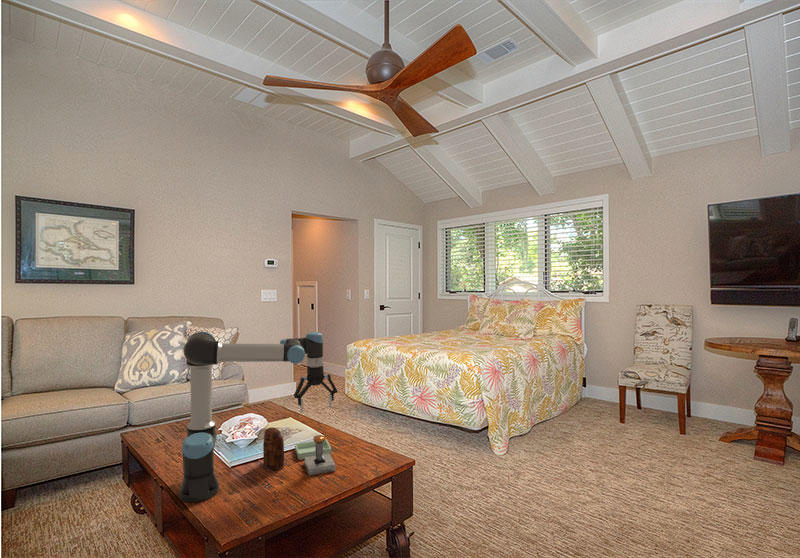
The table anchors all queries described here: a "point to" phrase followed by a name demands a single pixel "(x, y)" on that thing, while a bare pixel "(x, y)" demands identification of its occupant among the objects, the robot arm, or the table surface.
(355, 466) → the table surface
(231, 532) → the table surface
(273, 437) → the wooden figurine
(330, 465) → the block
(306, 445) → the tray
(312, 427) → the table surface
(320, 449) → the pin
